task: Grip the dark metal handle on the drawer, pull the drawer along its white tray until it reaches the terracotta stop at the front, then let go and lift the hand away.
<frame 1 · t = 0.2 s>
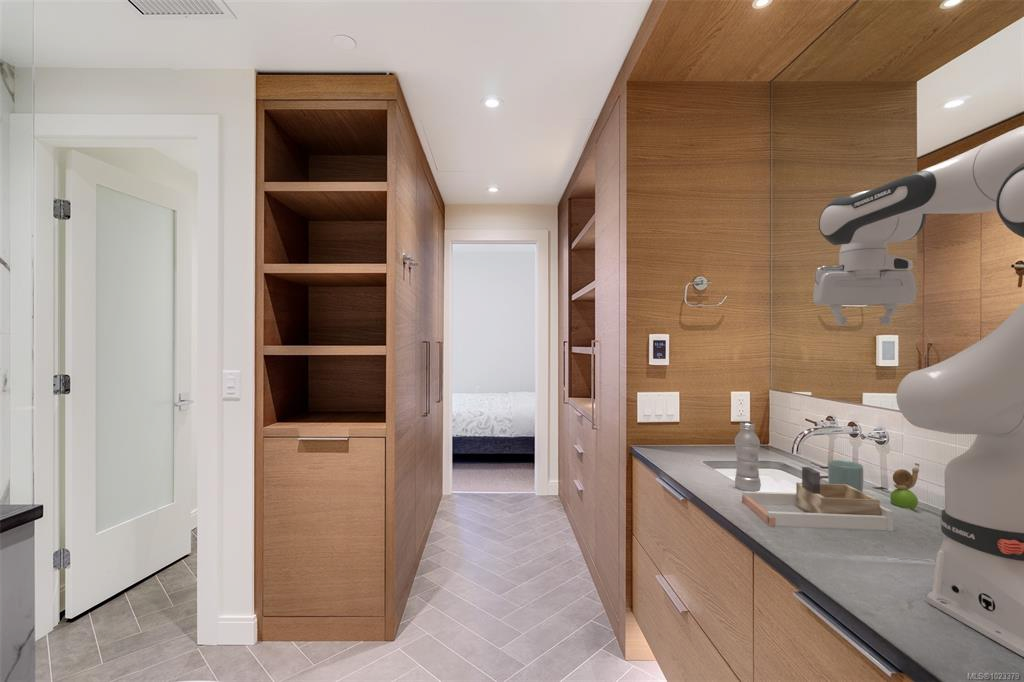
hand: (863, 324, 105), 47 cm above the worktop, tool pointing down, fingers open, 8 cm apart
snail figurine: (905, 510, 117), on the worktop
cup: (845, 501, 124), on the worktop
plastic bottle: (747, 493, 131), on the worktop
drawer: (834, 493, 110), point 7 cm above the worktop, slide at 0.0 cm
white tray: (811, 520, 110), on the worktop
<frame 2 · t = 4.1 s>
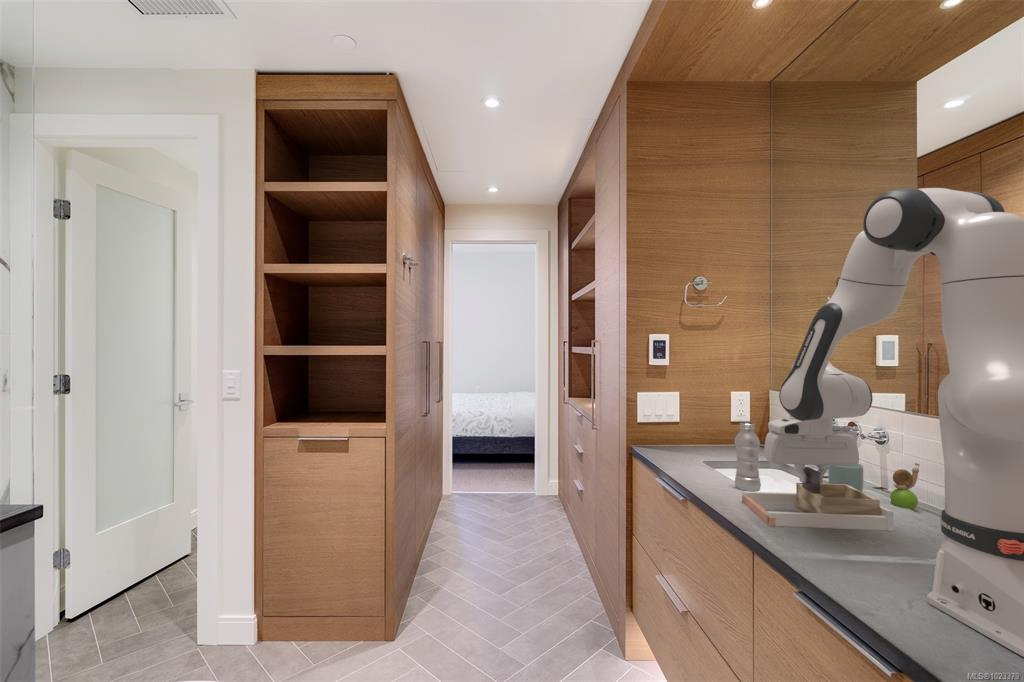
hand: (810, 482, 110), 9 cm above the worktop, tool pointing down, fingers closed on drawer, 2 cm apart
drawer: (834, 493, 110), point 7 cm above the worktop, slide at 0.0 cm, touching gripper
everything else where it was.
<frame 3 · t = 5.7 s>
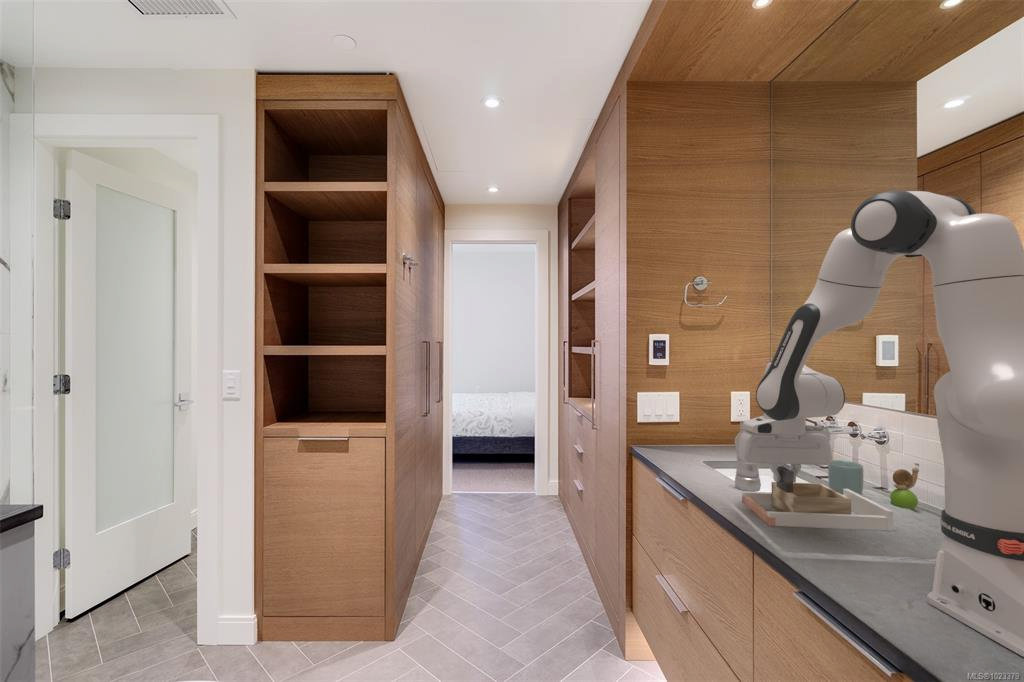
hand: (784, 481, 111), 9 cm above the worktop, tool pointing down, fingers closed on drawer, 2 cm apart
drawer: (808, 492, 110), point 7 cm above the worktop, slide at 6.0 cm, touching gripper
everything else where it was.
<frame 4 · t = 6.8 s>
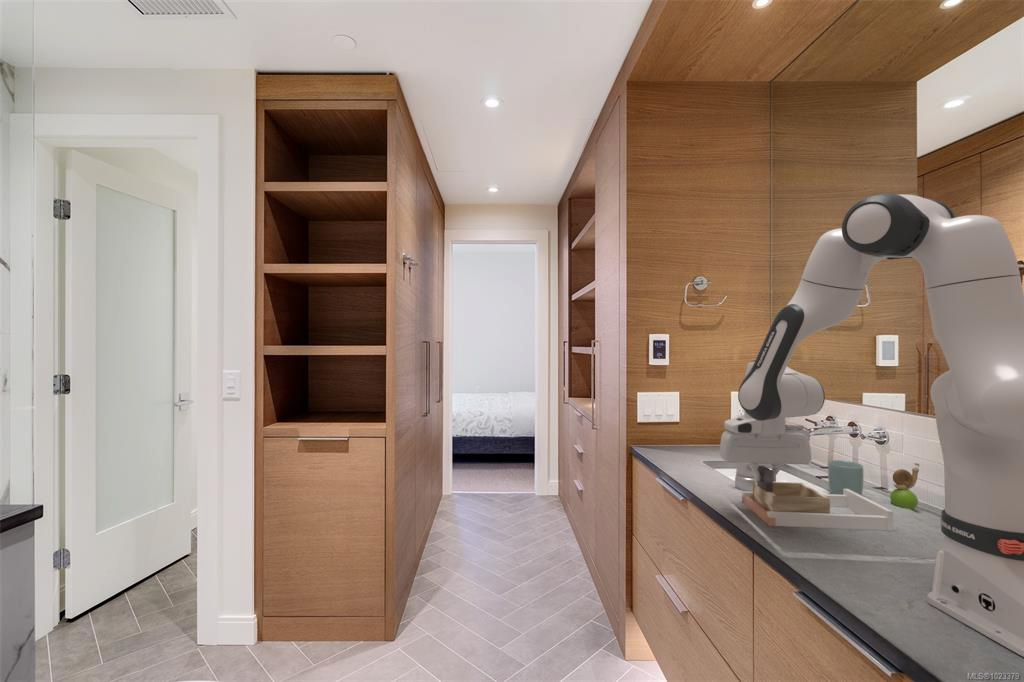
hand: (764, 480, 111), 9 cm above the worktop, tool pointing down, fingers closed on drawer, 2 cm apart
drawer: (788, 491, 111), point 7 cm above the worktop, slide at 10.6 cm, touching gripper
everything else where it was.
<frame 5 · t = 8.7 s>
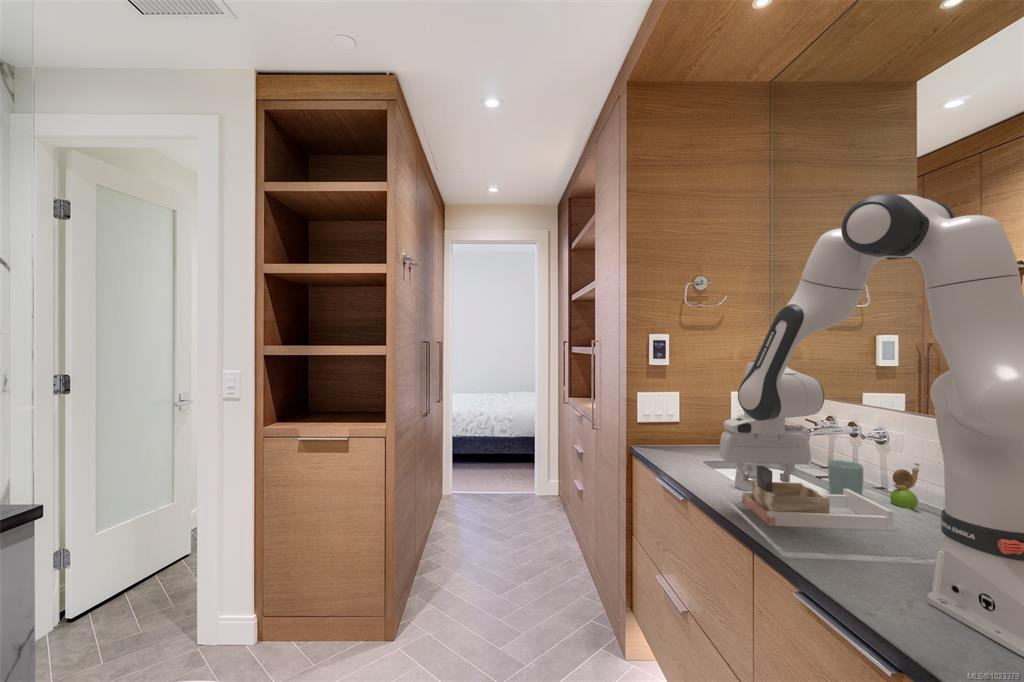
hand: (764, 481, 111), 9 cm above the worktop, tool pointing down, fingers open, 8 cm apart
drawer: (787, 491, 111), point 7 cm above the worktop, slide at 10.7 cm
everything else where it was.
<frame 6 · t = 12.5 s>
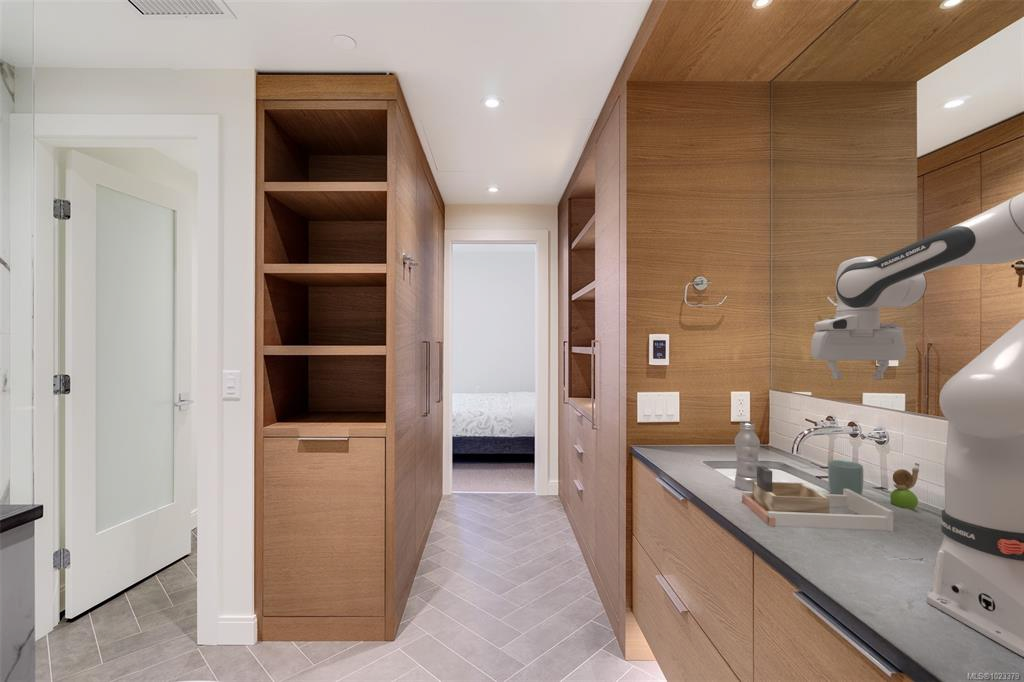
hand: (857, 378, 113), 34 cm above the worktop, tool pointing down, fingers open, 8 cm apart
nothing on the worktop moved.
at the end: drawer slide at 10.7 cm; the gripper is holding nothing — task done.
